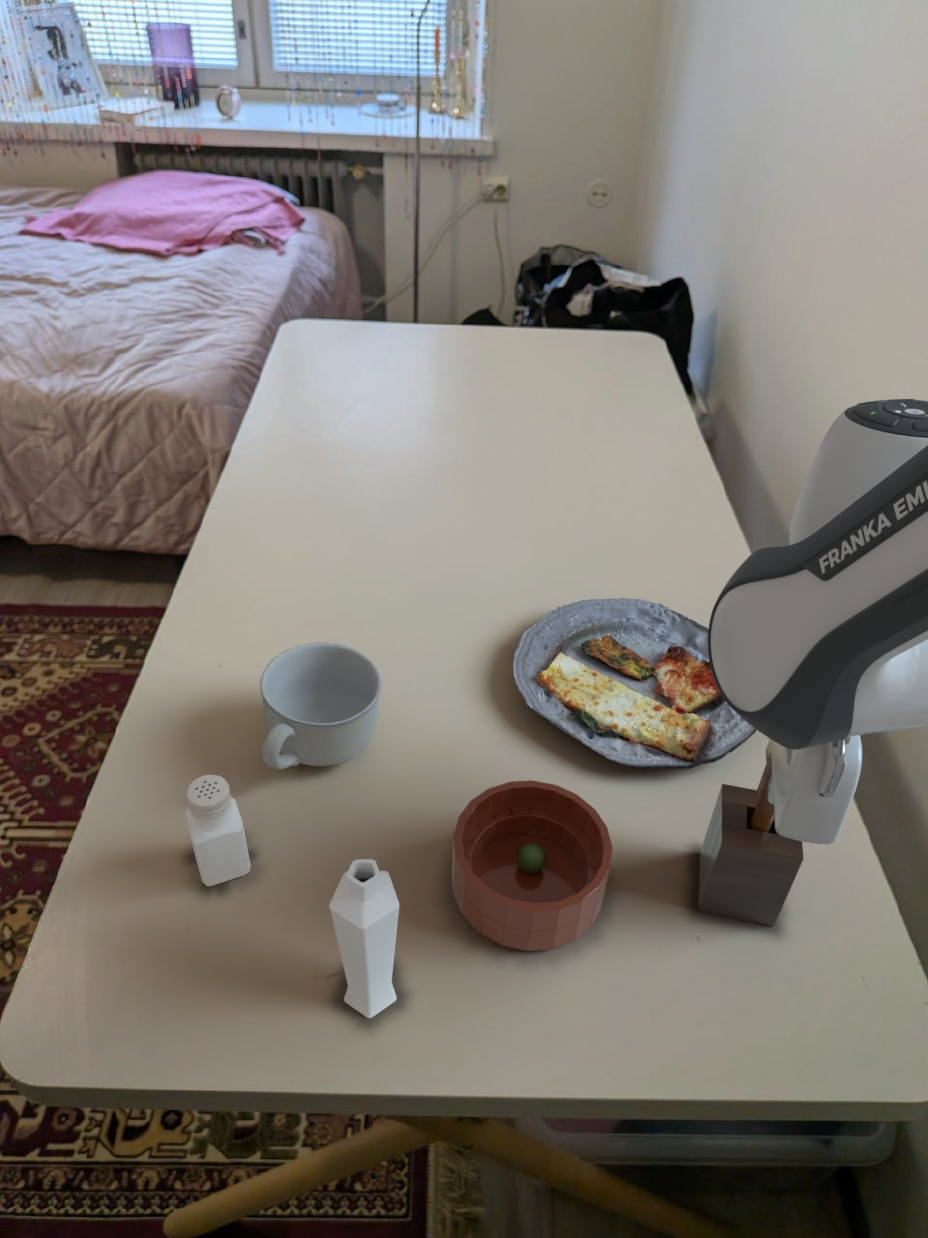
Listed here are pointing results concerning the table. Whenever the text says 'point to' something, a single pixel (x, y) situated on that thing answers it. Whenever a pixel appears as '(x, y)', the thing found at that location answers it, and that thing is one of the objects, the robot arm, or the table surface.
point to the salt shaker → (216, 830)
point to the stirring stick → (763, 803)
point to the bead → (531, 858)
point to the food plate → (628, 683)
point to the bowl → (513, 898)
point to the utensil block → (745, 862)
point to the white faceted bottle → (366, 935)
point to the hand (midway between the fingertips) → (777, 779)
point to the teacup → (318, 705)
